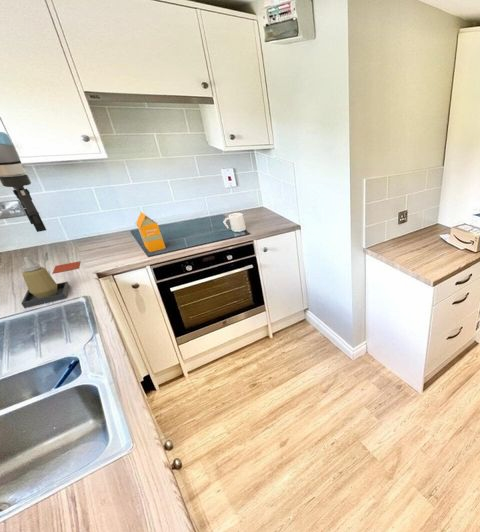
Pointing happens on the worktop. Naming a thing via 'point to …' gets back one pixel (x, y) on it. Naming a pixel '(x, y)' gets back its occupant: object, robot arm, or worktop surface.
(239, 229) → the mug
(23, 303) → the tray
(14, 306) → the worktop surface
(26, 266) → the squeeze bottle
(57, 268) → the mat
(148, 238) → the orange juice
